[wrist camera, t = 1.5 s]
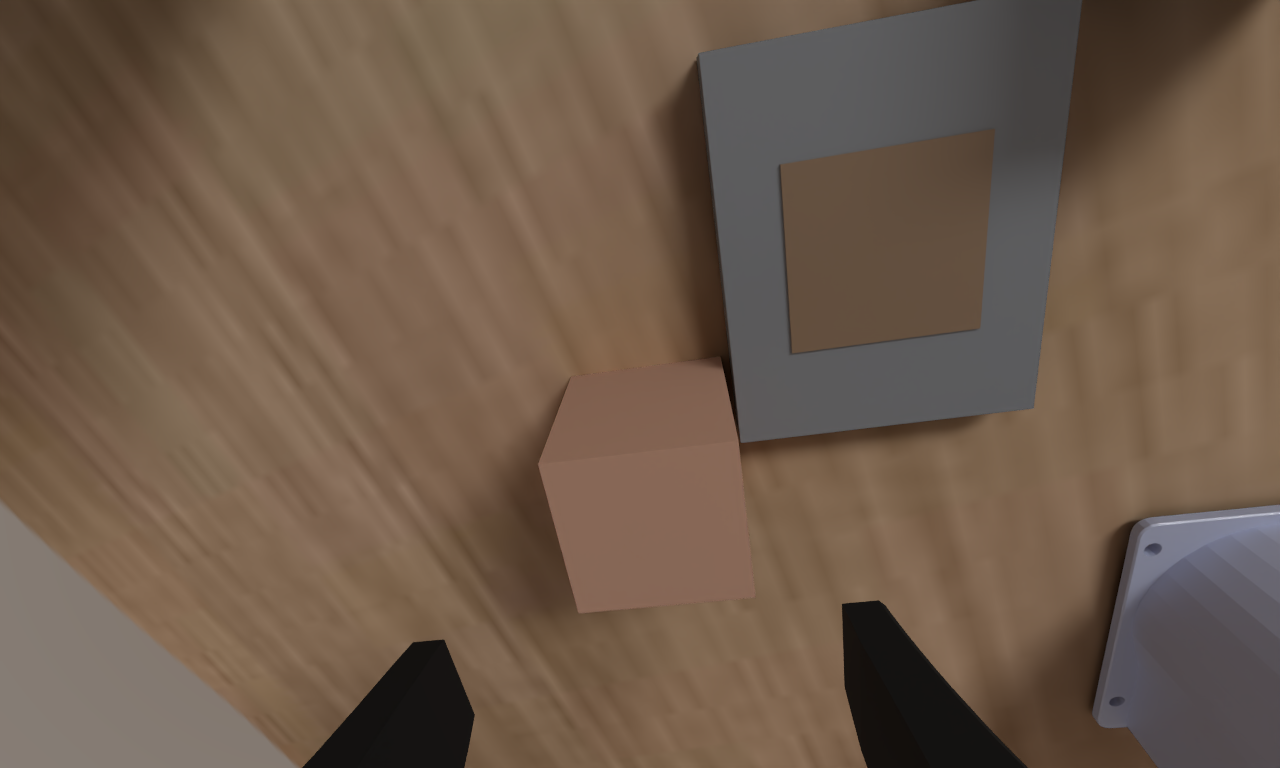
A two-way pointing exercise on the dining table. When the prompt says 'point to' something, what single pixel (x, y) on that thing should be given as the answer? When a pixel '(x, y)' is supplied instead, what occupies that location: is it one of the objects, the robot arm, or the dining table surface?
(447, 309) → the dining table surface
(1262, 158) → the dining table surface
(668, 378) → the brick
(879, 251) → the build base
